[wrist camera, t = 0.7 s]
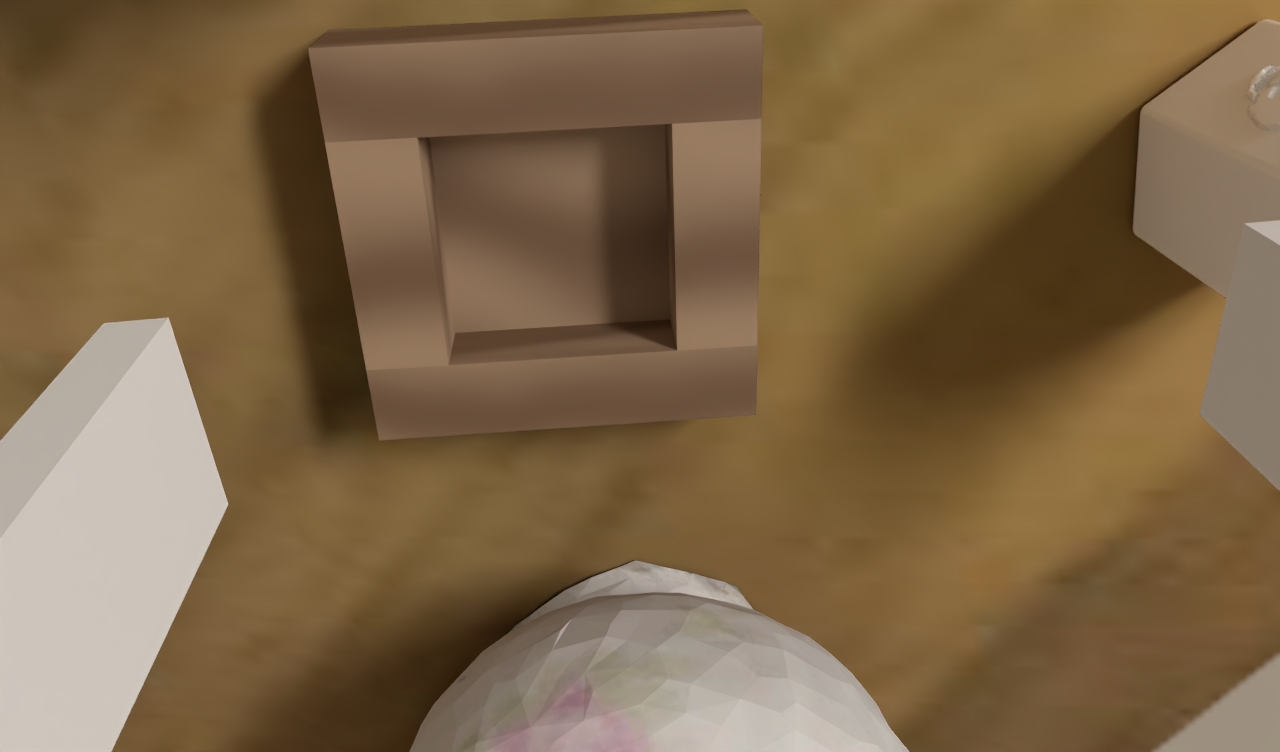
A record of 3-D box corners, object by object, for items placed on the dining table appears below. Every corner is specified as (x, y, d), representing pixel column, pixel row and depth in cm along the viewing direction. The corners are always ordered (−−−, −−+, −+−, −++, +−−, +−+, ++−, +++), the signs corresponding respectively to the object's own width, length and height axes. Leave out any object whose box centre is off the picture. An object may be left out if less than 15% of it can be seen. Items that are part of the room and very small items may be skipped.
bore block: (328, 30, 32) (307, 48, 29) (746, 9, 32) (762, 25, 30) (391, 398, 38) (379, 440, 35) (742, 374, 39) (755, 415, 36)
